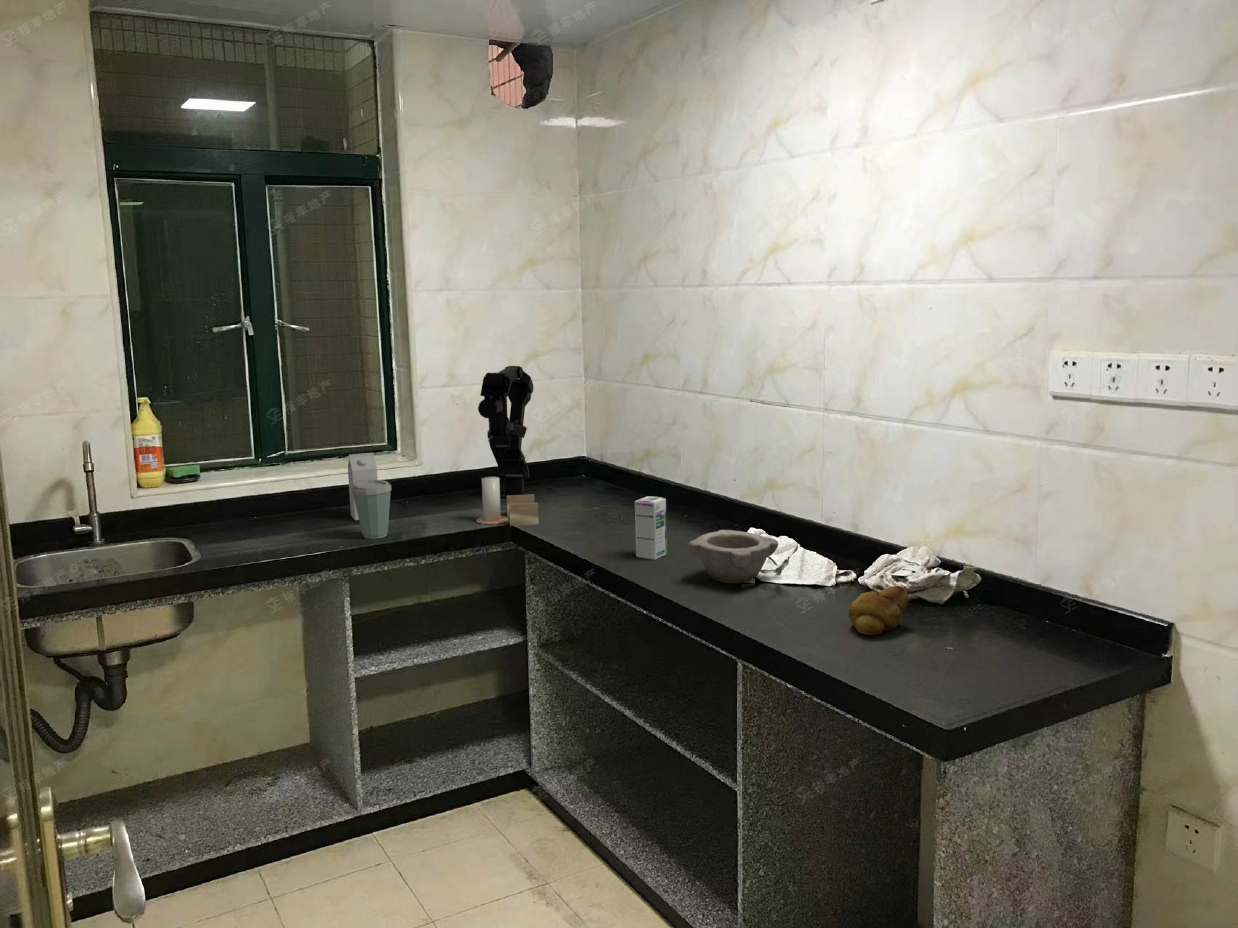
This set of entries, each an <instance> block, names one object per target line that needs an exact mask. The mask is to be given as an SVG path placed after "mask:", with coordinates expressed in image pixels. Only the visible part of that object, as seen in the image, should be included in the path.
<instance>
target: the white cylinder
mask: <svg viewBox="0 0 1238 928" xmlns="http://www.w3.org/2000/svg"><path fill="white" fill-rule="evenodd" d="M500 484H501V483H500V477H498V476H485V477H482V478H481V494H482V517H483V520H484V521H498V520H500V519H501V516H502V515H501V512H502V511H501V489H500V488H501V487H500V486H501V485H500Z"/></svg>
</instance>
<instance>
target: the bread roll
mask: <svg viewBox="0 0 1238 928" xmlns="http://www.w3.org/2000/svg"><path fill="white" fill-rule="evenodd" d="M908 602H909V595H908V592H907V590H906V589H905V588H904V587H902V586H901V585H895V586H889V587H886V588H884V589H882V590H881V591H879V592H877V591H875V590H871V591H867V592H861V594H859V595H858V596H857V598H856V599H855V600H854V601H852V603H851V604H850V606H849V607H848V618H849V619H850V621H851V624H852V625H853V626H854V627H855V629H856V631H857V632H859V633H860V634H863V635H867V636H876V635H881V633H883V632H884V631H891V630H894V629H896V628H897V627H898V625H900V622H901V619H902V617H903V616H902V615H903V612H904V611H905V609H906V607H907V605H908Z"/></svg>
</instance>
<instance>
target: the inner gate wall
mask: <svg viewBox="0 0 1238 928" xmlns="http://www.w3.org/2000/svg"><path fill="white" fill-rule="evenodd" d="M516 503H536V502H535V494H533V493H532V494H528V495H509V496H507V498H506V516H507V517H510V515H509V504H516Z"/></svg>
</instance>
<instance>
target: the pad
mask: <svg viewBox="0 0 1238 928" xmlns="http://www.w3.org/2000/svg"><path fill="white" fill-rule="evenodd" d="M475 520H476V523H477V524H479V523H481V524H480V525H484V524H490V525H491V524H495V525H499V524H498V523H502V524H505V523H507V522H508V520H509V518H508V516H507V517H506V516H502V515H501V519H500V520H498V521H484V520H483V516H481V517H480V516H479V517H477V518H476V519H475ZM506 521H507V522H506ZM504 522H505V523H504ZM490 525H489V526H490ZM491 526H492V525H491Z"/></svg>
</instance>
